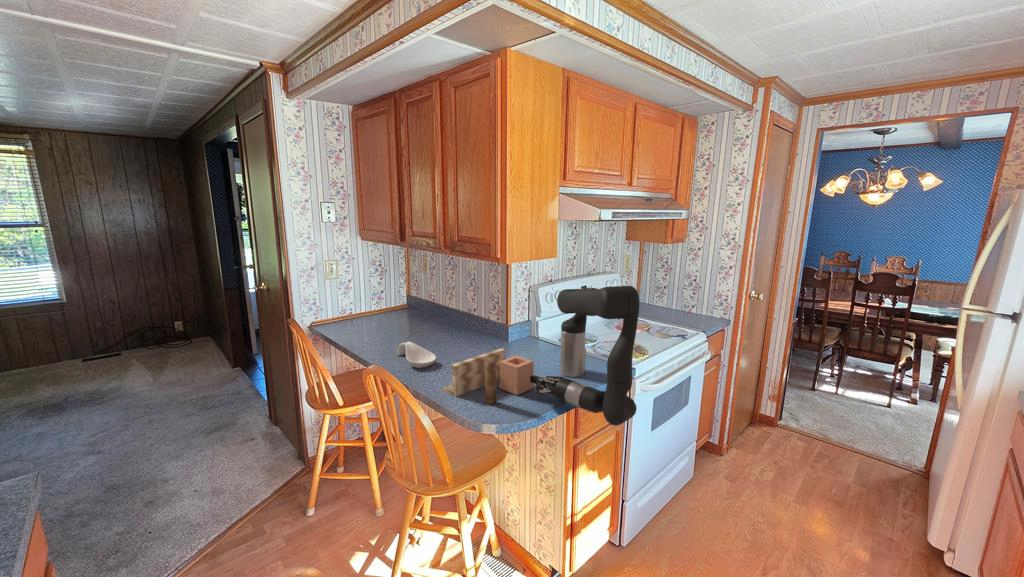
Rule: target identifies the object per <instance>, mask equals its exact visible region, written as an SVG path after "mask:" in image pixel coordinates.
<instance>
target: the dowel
mask: <svg viewBox="0 0 1024 577" xmlns="http://www.w3.org/2000/svg"><path fill="white" fill-rule="evenodd" d="M484 387H485V388H484V390H485V391H484V393H485V394H484V395H485V396H484V397H485V399H484V400H485V405H487V406H494V405H495V404H496V405H497V380H496V362H495V361H486V362H485V385H484Z"/></svg>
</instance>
